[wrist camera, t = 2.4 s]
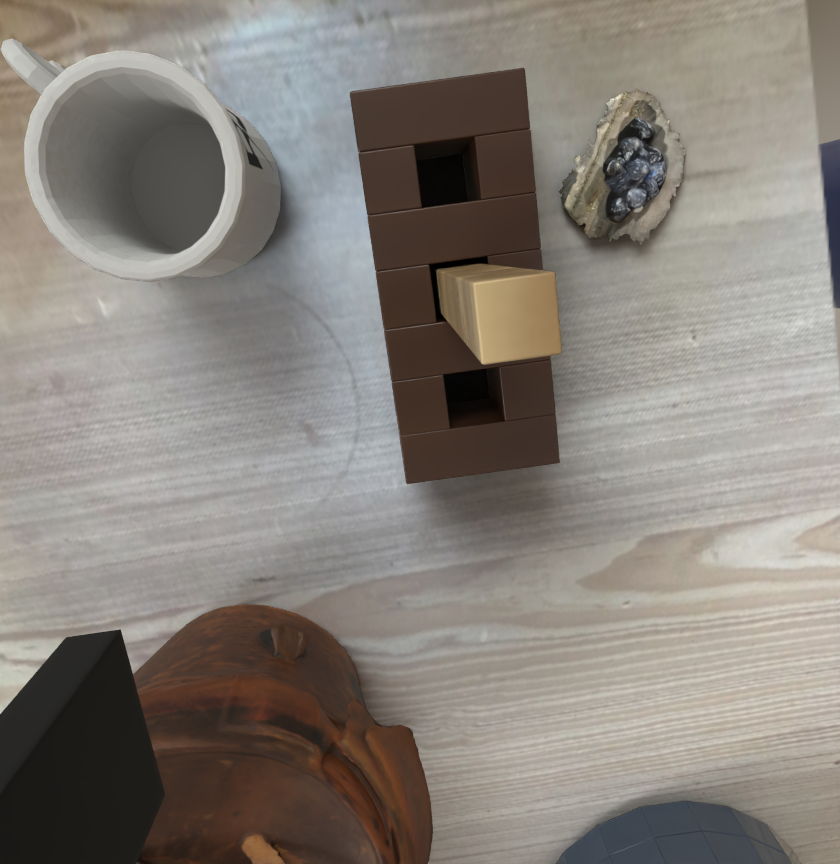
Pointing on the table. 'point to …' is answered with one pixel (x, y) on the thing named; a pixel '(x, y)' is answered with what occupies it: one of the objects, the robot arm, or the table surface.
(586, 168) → the mineral rock specimen
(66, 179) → the mug
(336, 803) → the case
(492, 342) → the stick
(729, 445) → the table surface
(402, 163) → the holder
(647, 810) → the bowl
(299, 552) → the table surface
